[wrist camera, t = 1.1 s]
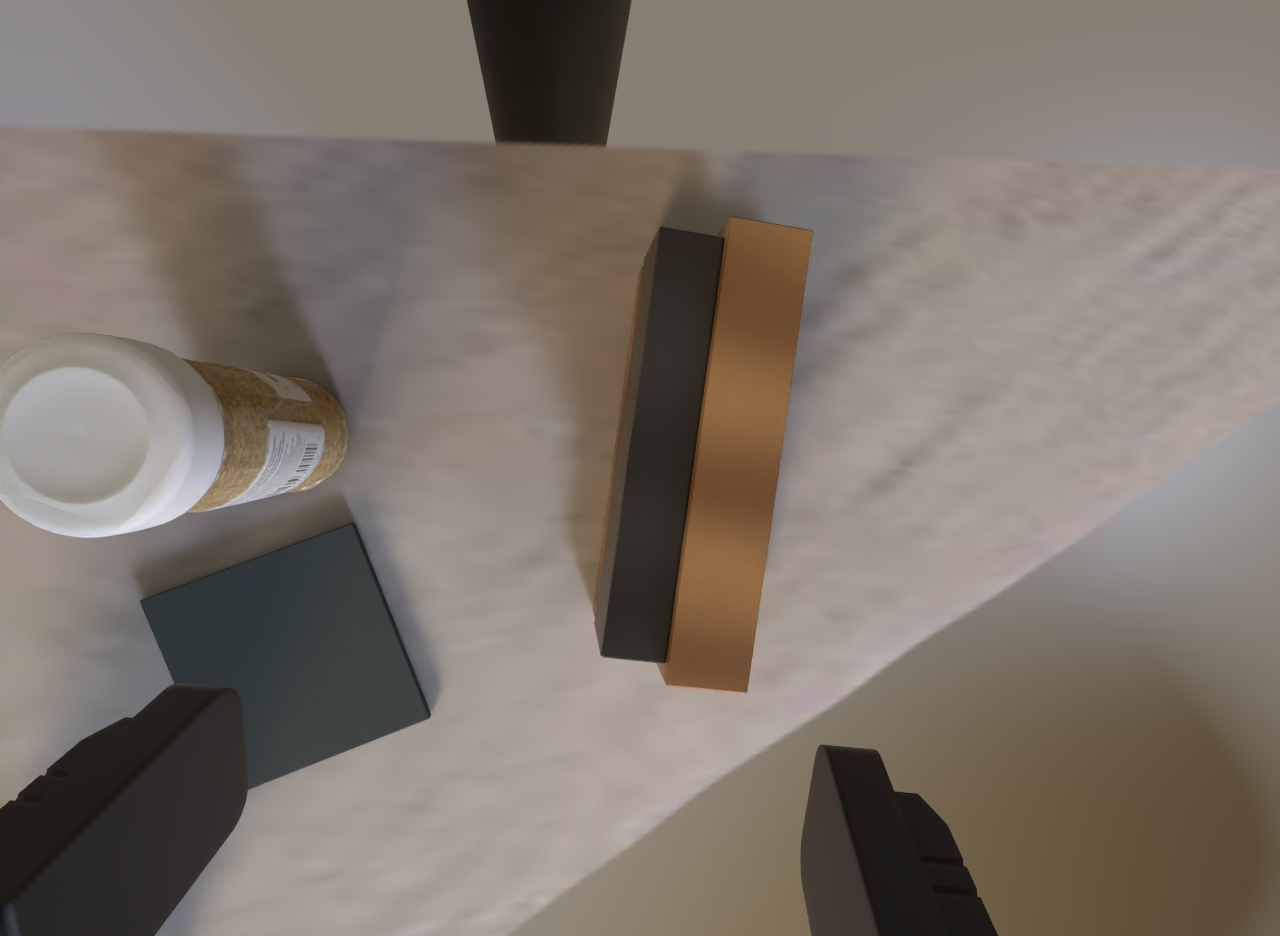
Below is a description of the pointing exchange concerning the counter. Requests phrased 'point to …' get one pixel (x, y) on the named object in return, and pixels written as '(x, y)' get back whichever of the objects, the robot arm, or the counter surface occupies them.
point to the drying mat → (294, 651)
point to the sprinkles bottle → (152, 435)
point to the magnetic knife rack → (700, 450)
